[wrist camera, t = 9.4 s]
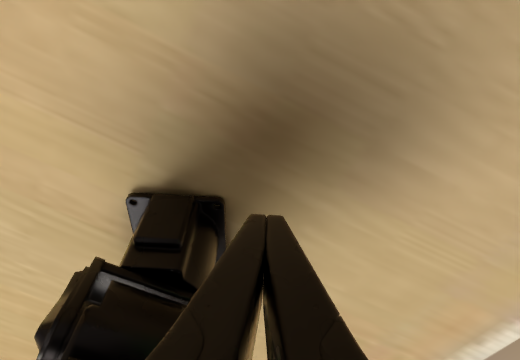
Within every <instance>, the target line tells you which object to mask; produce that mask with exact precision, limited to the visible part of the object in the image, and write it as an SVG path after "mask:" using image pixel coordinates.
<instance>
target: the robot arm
mask: <svg viewBox="0 0 520 360" xmlns="http://www.w3.org/2000/svg"><path fill="white" fill-rule="evenodd" d="M133 200H135V201H136V202H135V201H133ZM214 204H219V206H216V205H214ZM126 205H127V210H128V214H129V218H130V222H131V226H132V230H133V236H132V239H131V241H130V243H129V245H128V248H127V250H126V252H125V254H124V256H123V259H122V261H121V263H120V265H119V266H116V265H113V264H110V263H107V262H105V260H104V259H101V258H99V257H95V259H94V260H93V262H92V264H91V266H90V267H85V269H84V271H79V272H75V273H74V275H73V277H72V279H71V280H70V282H69V284H68V286H67V288H66V289H65V291H64V293H63V294H62V296H61V298H60V299H59V300H58V302H57V303H56V304H55V306H54V307H53V308H52V310H51V311H50V313H49V314H48V315H47V317H46V318H45V319H44V321H43V322H42V323H41V325H40V326H39V328H38V330H37V332H36V334H35V336H34V338H35V341H36V343H37V346H38V349H39V354H38V357H37V359H36V360H252V355H253V350H254V344H255V338H256V333H257V327H258V321H259V315H260V310H261V303H262V294H263V309H264V322H265V334H266V346H267V358H268V360H368V358H367V357H366V356H365V354H364V353H363V351H362V350H361V348H360V347H359V345H358V344H357V342H356V340H355V339H354V337H353V335H352V334H351V332H350V331H349V329H348V327H347V326H346V324H345V322H344V320H343V319H342V317H341V316H339V312H338V310H337V309H336V307H335V305H334V303H333V302H332V300H331V298H330V297H329V295H328V293H327V291H326V290H325V288H324V286H323V284H322V283H321V281H320V279H319V278H318V276H317V274H316V272H315V271H314V269H313V267H312V265H311V264H310V262H309V260H308V259H307V257H306V255H305V253H304V252H303V250H302V248H301V247H300V245H299V243H298V241H297V240H296V238H295V236H294V234H293V233H292V231H291V229H290V228H289V226H288V224H287V222H286V221H285V219H284V217H283V216H280V215H268V216H267V218H266V216H265V215H260V214H251V215H250V216H249V217H248V218H247V220H246V221H245V223H244V224H243V226H242V227H241V229H240V230H239V231H238V233H237V234H236V236H235V237H234V239H233V240H232V241H231V243H230V244H229V246H228V247H227V249H226V222H225V202H224V200H223V199H222V198H219V197H207V196H187V195H167V194H147V193H131V194H129V195H128V197H127V199H126ZM263 278H264V280H263Z"/></svg>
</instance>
